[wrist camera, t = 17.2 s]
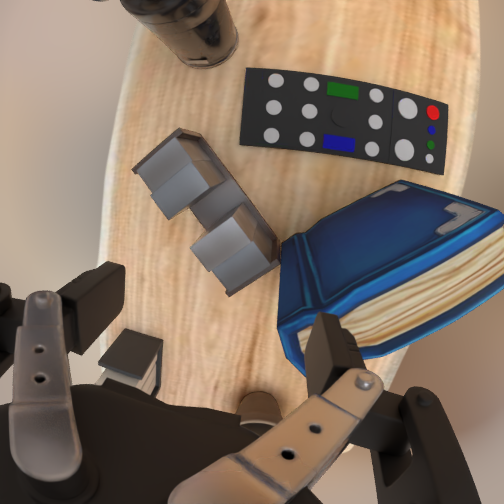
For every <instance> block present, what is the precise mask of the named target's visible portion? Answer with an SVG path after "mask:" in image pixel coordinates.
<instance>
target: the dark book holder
mask: <svg viewBox="0 0 504 504" xmlns="http://www.w3.org/2000/svg"><path fill="white" fill-rule="evenodd" d="M162 349H163V340H162V339H158V338H155V337H151V336H148V335H145V334H141V333H138V332H135V331H132V330H129V329H124V330H123V331H122V333H121V334H120V335H119V336H118V337H117V339H116V340H115V341H114V342H113V344H112V345H111V346H110V347H109V349H108V350H107V351H106V352H105V354H104V355H103V356H102V357H101V359H100V360H99V361H98V365H99V366H102V367H105V368H107V369H110V370H113V371H115V372H118V373H121V374H124V375H127V376H130V377H133V378H136V379H139V380H142V379H143V377H144V375H145V374H146V372H147V370H148V368H149V367H150V365H151V363H152V361H153V360H154V358H155V356H156V354H157V361H156V362H155V364H154V366H153V368H152V370H151V371H150V373H149V375H148V377H147V379H146V380H145V382H144V384H143V386H142V388H141V389H140V390H142V391H144V392H145V393H147V394H149V395H151V396H153V397H154V398H156V396H157V394H158V391H159V389H160V386H161V366H162Z"/></svg>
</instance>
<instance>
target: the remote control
mask: <svg viewBox="0 0 504 504" xmlns="http://www.w3.org/2000/svg"><path fill="white" fill-rule="evenodd" d="M447 129H448V104H445V103H442V102H439V101H436V100H432V99H429V98H426V97H422V96H419V95H416V94H412V93H408V92H405V91H401V90H397V89H393V88H389V87H385V86H380V85H376V84H371V83H367V82H362V81H357V80H351V79H346V78H340V77H334V76H328V75H321V74H314V73H306V72H297V71H288V70H277V69H263V68H246V75H245V86H244V97H243V109H242V120H241V132H240V145H247V146H260V147H272V148H282V149H292V150H301V151H309V152H317V153H325V154H332V155H339V156H346V157H352V158H359V159H365V160H370V161H376V162H382V163H387V164H392V165H397V166H402V167H407V168H412V169H417V170H421V171H426V172H430V173H434V174H439V175H444V167H445V157H446V145H447Z"/></svg>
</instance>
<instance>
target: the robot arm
mask: <svg viewBox="0 0 504 504" xmlns="http://www.w3.org/2000/svg"><path fill="white" fill-rule="evenodd" d="M94 1H107V0H94ZM120 1H121V4H122V5H123V7H124V8H125V9H126V10H127V11H128V12H129V13H130V14H131V15H133V16H134V17H135V18H136V19H137V20H139V21H140V22H141V23H142V24H143V25H144V26H145V27H147V28H148V29H149V30H150V31H151V32H152V33H153V34H154V35H156V36H157V37H158V38H159V39H160V40H161V41H162V42H163V43H164V44H165V45H166V46H168V47H169V48H170V49H171V50H172V51H173V52H174V53H175V54H176V55H177V56H178V58H179V59H180V60H181V61H182V62H183V63H185V64H186V65H188V66H190V67H193V68H199V69H205V68H211V67H215V66H217V65H220V64H222V63H223V62H225V61H226V60H227V59H228V58H230V56H231V55H232V54H233V53H234V51H235V49H236V47H237V44H238V32H237V29H236V27H235V25H234V23H233V20H232V17H231V14H230V11H229V8H228V6H227V3H226V0H120ZM124 295H125V267H124V265H120V264H117V263H113V262H109V261H107V262H105V263H104V264H102V265H101V266H99V267H98V268H97V269H93V270H89V271H86V272H84V273H82V274H81V275H79V276H78V277H77V278H75V279H73V280H72V281H71V282H69V283H68V284H66V285H65V286H64V287H62V288H61V289H59V290H58V291H57V292H52V291H37V292H34V293H32V294H30V295H29V296H28V297H27V298H26V300H21V299H15V298H12V295H11V289H10V287H9V286H8V285H7V284H5V283H0V377H1V376H2V375H3V374H4V373H5V372H6V371H7V370H8V369H9V368H10V366H11V365H12V364H13V363H14V368H13V400H12V403H8V404H4V405H0V504H323V503H322V502H321V501H320V500H319V499H318V498H317V497H316V496H315V495H314V494H313V493H312V492H311V489H312V487H313V486H314V485H315V484H316V483H317V482H318V481H319V480H320V478H321V477H322V476H323V475H324V474H325V473H326V471H327V470H328V469H329V468H330V467H331V466H332V464H333V463H334V462H335V461H336V460H337V458H338V457H339V456H340V455H341V454H342V452H343V451H344V450H345V449H346V447H347V446H348V445H349V443H351V444H354V445H357V446H361V447H364V448H367V449H370V452H371V458H372V465H373V471H374V478H375V484H376V492H377V499H378V504H481V501H480V498H479V495H478V492H477V489H476V486H475V483H474V481H473V478H472V475H471V473H470V470H469V467H468V465H467V462H466V460H465V457H464V455H463V452H462V450H461V447H460V445H459V443H458V440H457V438H456V436H455V433H454V431H453V429H452V426H451V424H450V422H449V420H448V418H447V415H446V413H445V411H444V409H443V407H442V405H441V402H440V400H439V399H438V397H437V396H436V395H435V394H434V393H433V392H431V391H430V390H428V389H425V388H423V387H411V388H409V389H408V390H407V392H406V393H405V395H404V396H401V395H398V394H394V393H391V392H388V391H386V390H384V384H383V381H382V380H381V379H380V377H379V376H377V375H376V374H375V373H373V372H371V371H369V370H367V369H366V366H365V363H364V361H363V358H362V355H361V353H360V352H359V351H360V350H359V347H358V346H357V342H356V340H355V337H354V336H353V335H352V334H351V332H350V331H349V330H348V329H346V328H342V327H341V324H340V321H339V318H338V316H337V315H335V314H330V313H325V312H318V314H317V316H316V318H315V321H314V324H313V327H312V330H311V333H310V336H309V338H308V341H307V344H306V348H305V353H304V361H305V370H306V380H307V389H308V399H307V400H306V401H305V402H303V403H302V404H301V405H300V406H299V407H298V408H296V409H295V410H294V411H293V412H291V413H290V414H289V415H288V416H286V417H285V418H284V419H283V420H281V421H280V422H279V423H278V424H276V425H275V426H274V427H273V428H271V429H270V430H269V431H267V432H266V433H265V434H263V435H262V436H260V435H258V434H256V433H255V432H253V431H251V430H249V429H247V428H245V427H243V426H240V422H241V416H242V415H237V414H232V413H227V412H222V411H218V410H214V409H209V408H201V407H186V406H175V405H169V404H166V403H164V402H162V401H160V400H158V399H156V398H154V397H153V396H151V395H149V394H147V393H145V392H144V391H142V390H140V389H138V388H136V387H133V386H130V385H127V384H124V383H122V382H119V381H116V380H113V379H111V378H108V377H107V378H106V379H105V381H104V382H103V384H102V385H94V384H80V385H72V380H71V373H70V366H69V359H68V353H69V352H70V351H72V352H74V353H76V354H79V355H83V354H84V352H85V351H86V350H87V349H88V348H89V347H90V345H92V343H93V342H94V341H95V340H96V339H97V338H98V337H99V336H100V334H101V333H102V332H103V331H104V330H105V329H106V328H107V327H108V326H109V324H110V323H111V322H112V321H113V320H114V319H115V318H116V317H117V316H118V315H119V313H120V312H121V310H122V308H123V305H124ZM410 448H411V449H412V453H413V456H412V455H411V451H410Z"/></svg>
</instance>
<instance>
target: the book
mask: <svg viewBox="0 0 504 504" xmlns="http://www.w3.org/2000/svg"><path fill="white" fill-rule="evenodd" d="M503 224H504V214H502V213H501V212H500V211H499V210H497V209H494V208H492V207H489V206H486V205H483V204H480V203H477V202H474V201H471V200H468V199H465V198H462V197H459V196H456V195H453V194H450V193H447V192H443V191H440V190H437V189H433V188H430V187H426V186H423V185H419V184H416V183H412V182H408V181H405V180H399V181H397V182H395V183H393V184H391V185H389V186H387V187H385V188H383V189H380V190H378V191H376V192H374V193H372V194H370V195H368V196H366V197H364V198H362V199H360V200H358V201H356V202H354V203H352V204H350V205H348V206H346V207H344V208H342V209H340V210H338V211H336V212H334V213H333V214H331V215H329V216H327V217H325V218H323V219H321V220H320V221H319V222H317V223H316V224H315V225H314V226H313V227H312V228H311V229H309V230H308V231H307V232H305V233H299V234H295V235H293V236H292V237H290V238H289V239H288V240H286V241H285V242H283V243H282V249H281V268H280V285H279V301H278V316H277V330H278V333H279V336H280V340H281V343H282V346H283V350H284V353H285V356H286V358H287V359H288V360H289V361H290V362H291V363H292V364H293V365H294V366H295V367H296V368H297V369H298V370H299V371H300V372H301V373H302V374H303V375H304V376H305V377H306V370H305V361H304V353H305V348H306V344H307V341H308V338H309V336H310V333H311V330H312V327H313V324H314V321H315V318H316V316H317V314H318V312H325V313H330V314H335V315H337V316H338V318H339V321H340V324H341V327H342V328H346V329H348V330H349V331H350V332H351V334H352V335H353V336H354V337H355V340H356V342H357V346H358V347H359V350H360V351H359V352H360V353H361V355H362V358H363V360H366V359H372V358H378V357H383V356H385V355H388V354H390V353H392V352H394V351H397V350H399V349H401V348H403V347H405V346H407V345H410V344H412V343H414V342H416V341H418V340H420V339H422V338H424V337H426V336H428V335H430V334H432V333H434V332H436V331H438V330H440V329H442V328H443V327H445V326H447V325H449V324H451V323H453V322H455V321H456V320H458V319H460V318H461V317H463V316H464V315H466V314H467V313H469V312H470V311H472V310H474V309H475V308H477V307H478V306H480V305H481V304H483V303H484V302H485V301H487V300H489V299H490V298H491V297H493V296H494V295H496V294H497V293H499V292H500V291H501V290H503V289H504V230H503V228H502V226H503Z"/></svg>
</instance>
